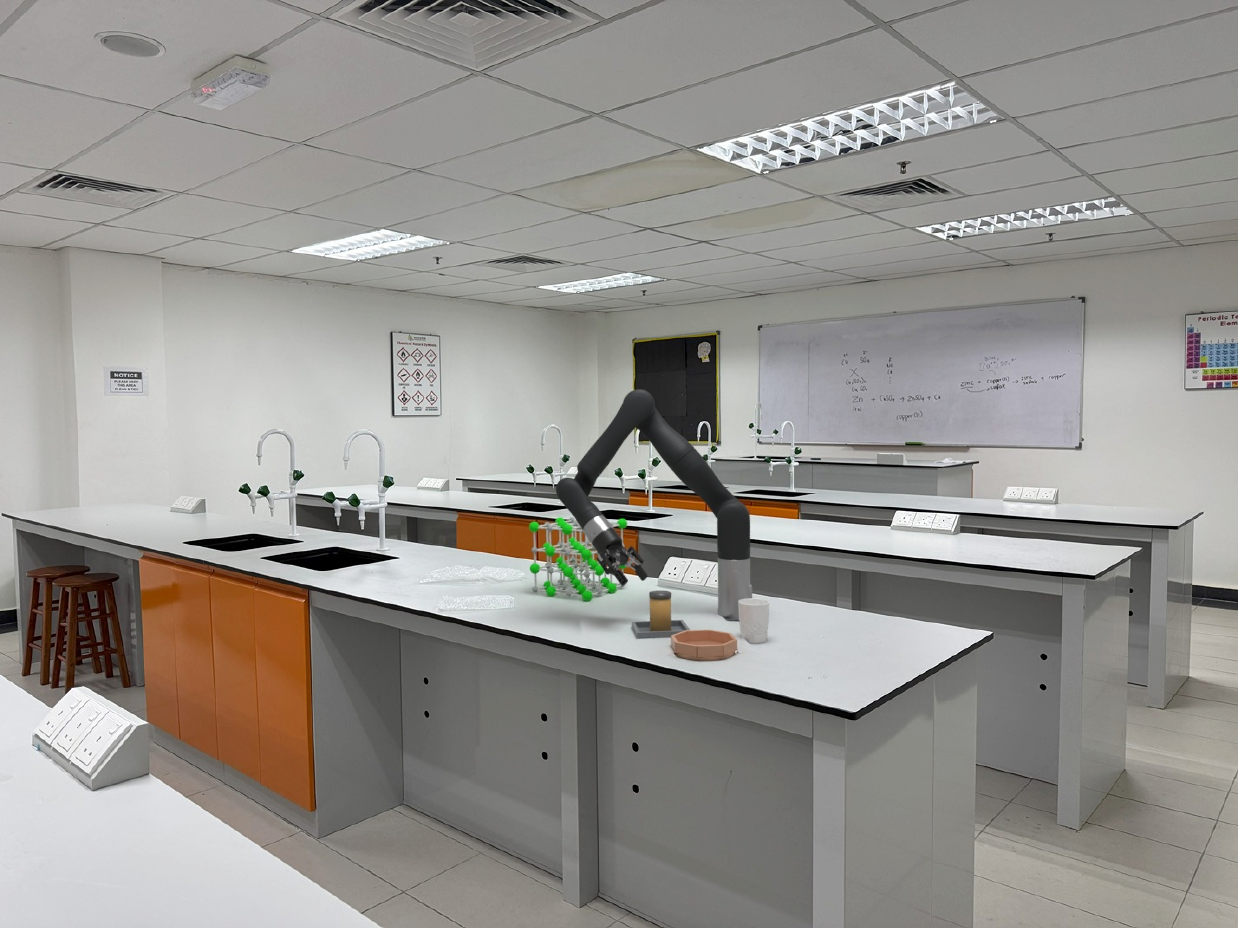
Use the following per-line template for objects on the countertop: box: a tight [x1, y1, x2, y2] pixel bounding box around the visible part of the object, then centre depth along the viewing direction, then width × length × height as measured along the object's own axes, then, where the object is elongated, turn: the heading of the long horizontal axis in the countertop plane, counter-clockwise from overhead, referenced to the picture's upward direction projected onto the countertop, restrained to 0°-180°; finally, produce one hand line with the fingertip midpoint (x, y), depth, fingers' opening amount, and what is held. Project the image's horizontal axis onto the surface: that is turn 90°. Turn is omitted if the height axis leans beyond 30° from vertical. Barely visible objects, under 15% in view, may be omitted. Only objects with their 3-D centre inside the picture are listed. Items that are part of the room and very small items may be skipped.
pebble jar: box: [648, 590, 672, 632], centre depth 216 cm, size 6×6×10 cm
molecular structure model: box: [528, 516, 628, 602], centre depth 275 cm, size 24×25×24 cm
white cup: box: [738, 597, 770, 644], centre depth 211 cm, size 8×8×10 cm
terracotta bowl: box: [670, 629, 738, 662], centre depth 200 cm, size 15×15×4 cm
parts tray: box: [631, 619, 691, 640], centre depth 217 cm, size 14×12×2 cm
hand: (635, 581), depth 221 cm, fingers open, 8 cm apart
